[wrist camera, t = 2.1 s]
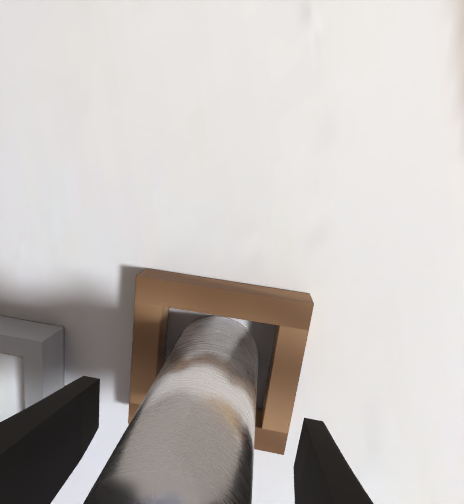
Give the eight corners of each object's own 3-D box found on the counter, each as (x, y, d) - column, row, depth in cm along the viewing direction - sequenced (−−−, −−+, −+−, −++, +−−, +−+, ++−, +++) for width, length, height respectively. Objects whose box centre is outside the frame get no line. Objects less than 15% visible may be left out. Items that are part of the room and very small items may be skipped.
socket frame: (282, 434, 15) (283, 454, 14) (138, 405, 16) (128, 423, 14) (309, 293, 13) (313, 303, 12) (147, 268, 14) (135, 275, 13)
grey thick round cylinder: (252, 396, 15) (236, 629, 7) (174, 382, 15) (76, 588, 7) (263, 323, 14) (261, 496, 6) (180, 309, 14) (78, 456, 6)
